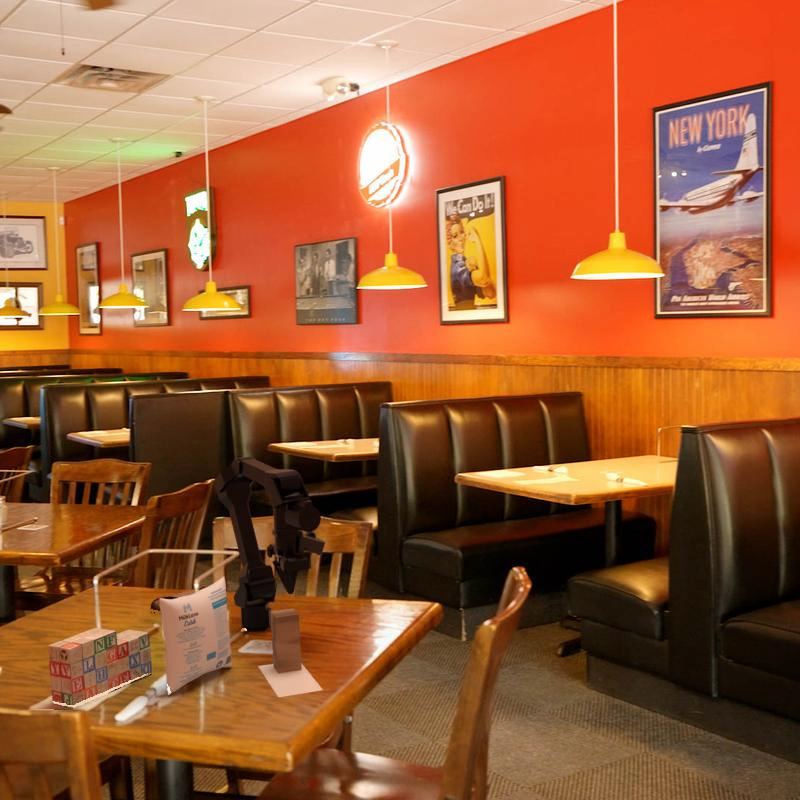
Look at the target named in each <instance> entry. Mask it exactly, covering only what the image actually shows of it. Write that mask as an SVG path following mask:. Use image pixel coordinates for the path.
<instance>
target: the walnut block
mask: <svg viewBox="0 0 800 800" xmlns="http://www.w3.org/2000/svg"><path fill="white" fill-rule="evenodd" d="M300 627H301V626H300V613H298V611H297V610H296V609H295V608H286V609H280V610H278V609H277V610H271V626H270V628H271V644H272V646H271V647H272V662H273V663H272V664H273V666H274V668H275V669H276V671H277V672H278V674H279V673H285V672H291V671H298V670H302V665H301V663H302V646H301V630H300Z"/></svg>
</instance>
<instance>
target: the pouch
mask: <svg viewBox="0 0 800 800" xmlns="http://www.w3.org/2000/svg"><path fill="white" fill-rule="evenodd" d="M159 598H160V597H159ZM159 600H160V609H161V615H160V616H161V622H162V623H161V625H162V631H163V637H164V649H165V651H164V652H165V657H164V658H165V673H166V674H165V676H166V677H165V678H166V680H165V681H166V685H167V684H168V686H169V687H170V691H171V692H174V693H175V692H177V691H178V690H179V689H181V688H182V687H183V686H184V685H186V684H188V683H191V682H192V681H194V680H196V679H198V678H199V677H201V676H202V675H204V674H206V673H210V672H214V671H216V670H219V669H222V668H226V669H228V668H232V667H233V665H232V664H233V658H232V649H231V648H232V647H231V640H230V632H229V623H228V622H229V621H228V602H227V601H228V599H227V585H226V577H225V576H222V577H221V578H218V580H217V581H215V582H214V583H212V584H211V585H209V586H207V587H206V588H204V589H202V590H199V591H197V592H196V593H194V594H191V595H188V596H183V597H179V598H176V599H163V598H160V599H159Z"/></svg>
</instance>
